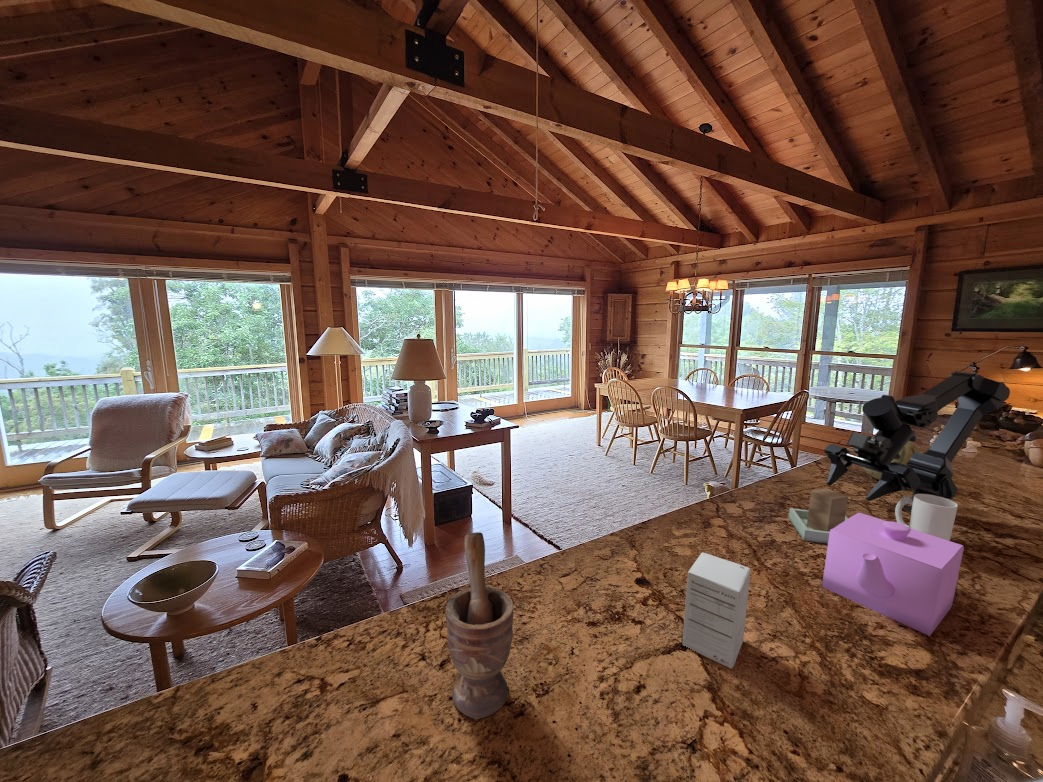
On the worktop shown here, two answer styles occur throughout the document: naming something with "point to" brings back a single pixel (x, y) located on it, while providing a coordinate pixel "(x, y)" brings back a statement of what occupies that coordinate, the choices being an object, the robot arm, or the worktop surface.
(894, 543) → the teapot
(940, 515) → the mug
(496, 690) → the mortar and pestle
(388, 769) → the worktop surface
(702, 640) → the supplement box
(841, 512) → the walnut block
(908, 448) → the cantaloupe
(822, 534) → the tray
